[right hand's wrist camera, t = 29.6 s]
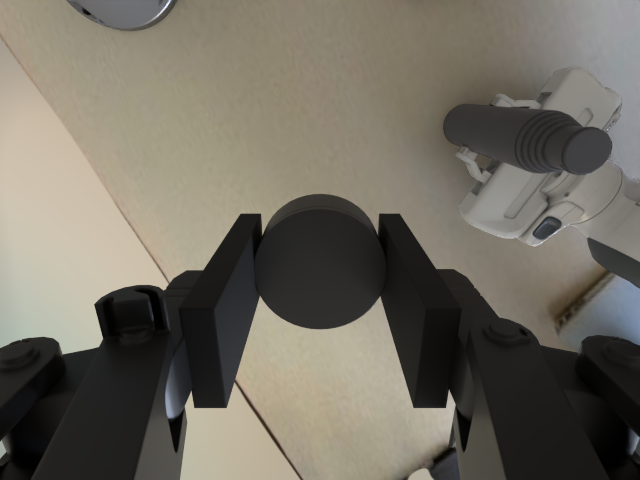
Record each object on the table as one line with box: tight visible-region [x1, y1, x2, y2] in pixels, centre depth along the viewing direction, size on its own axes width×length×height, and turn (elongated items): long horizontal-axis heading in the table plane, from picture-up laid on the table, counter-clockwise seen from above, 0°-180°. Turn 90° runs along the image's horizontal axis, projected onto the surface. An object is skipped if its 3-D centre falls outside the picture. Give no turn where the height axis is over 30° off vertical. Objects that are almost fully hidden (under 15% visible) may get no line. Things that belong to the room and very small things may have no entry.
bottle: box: [444, 104, 612, 175], centre depth 38 cm, size 5×5×25 cm
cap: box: [254, 194, 386, 329], centre depth 13 cm, size 4×4×2 cm
